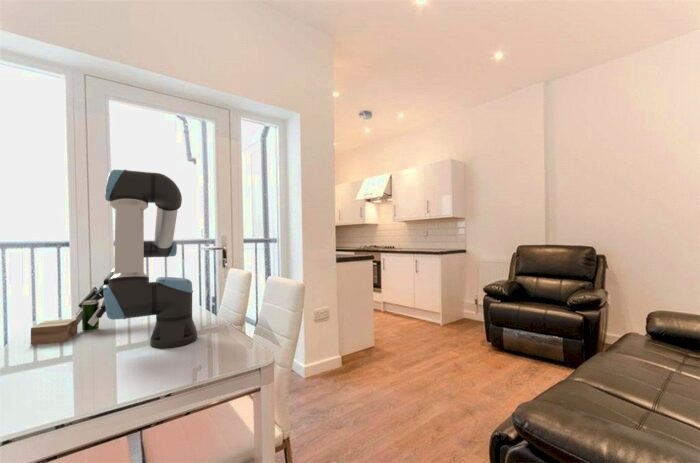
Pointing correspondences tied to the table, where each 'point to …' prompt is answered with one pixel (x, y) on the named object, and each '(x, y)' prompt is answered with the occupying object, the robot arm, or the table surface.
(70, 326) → the walnut block
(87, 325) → the guarana soda can
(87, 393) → the table surface
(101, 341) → the table surface
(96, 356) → the table surface
